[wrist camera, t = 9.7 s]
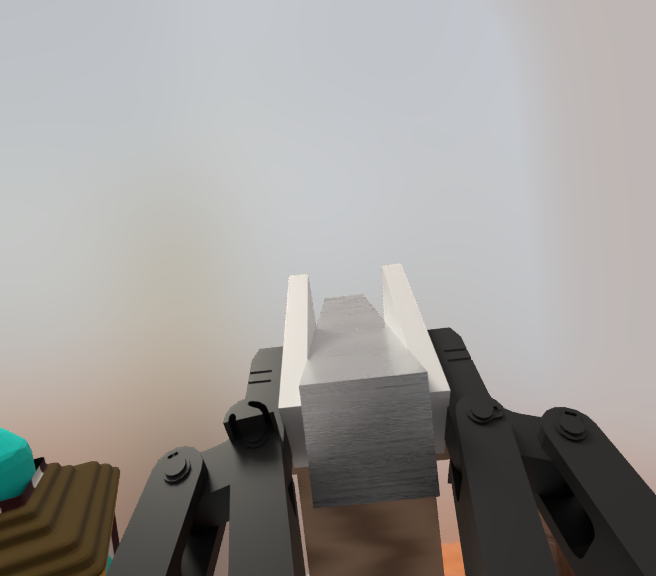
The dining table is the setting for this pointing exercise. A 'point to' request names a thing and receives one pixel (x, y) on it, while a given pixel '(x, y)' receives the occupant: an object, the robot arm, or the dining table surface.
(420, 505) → the pedestal
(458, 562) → the dining table surface
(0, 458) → the decorative lantern
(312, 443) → the bar
